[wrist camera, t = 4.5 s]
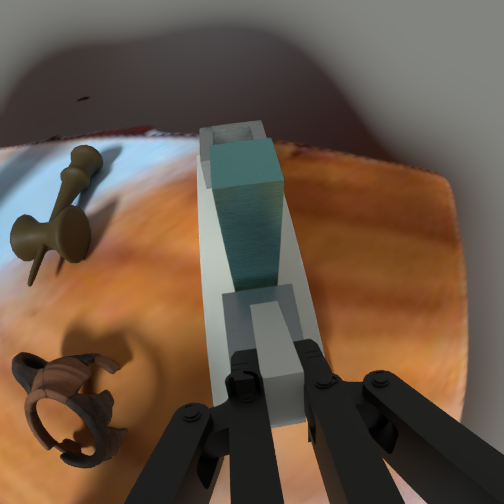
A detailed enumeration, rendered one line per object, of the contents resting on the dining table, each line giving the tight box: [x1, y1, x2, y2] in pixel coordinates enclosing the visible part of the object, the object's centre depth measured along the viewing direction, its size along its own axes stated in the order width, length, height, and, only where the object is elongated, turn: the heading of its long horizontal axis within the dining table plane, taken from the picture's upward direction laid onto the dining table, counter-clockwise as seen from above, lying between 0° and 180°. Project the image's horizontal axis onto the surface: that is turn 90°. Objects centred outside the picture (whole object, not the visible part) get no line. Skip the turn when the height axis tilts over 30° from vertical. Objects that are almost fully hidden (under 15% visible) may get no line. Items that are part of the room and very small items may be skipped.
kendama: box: [10, 145, 103, 287], centre depth 29 cm, size 6×10×20 cm
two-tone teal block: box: [209, 138, 284, 292], centre depth 18 cm, size 14×3×13 cm, turn 8°
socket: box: [200, 120, 267, 189], centre depth 31 cm, size 6×7×4 cm
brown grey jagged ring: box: [12, 352, 128, 468], centre depth 18 cm, size 12×10×8 cm
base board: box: [197, 155, 325, 407], centre depth 27 cm, size 28×9×1 cm, turn 8°
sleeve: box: [222, 283, 304, 370], centre depth 20 cm, size 8×5×4 cm, turn 8°
